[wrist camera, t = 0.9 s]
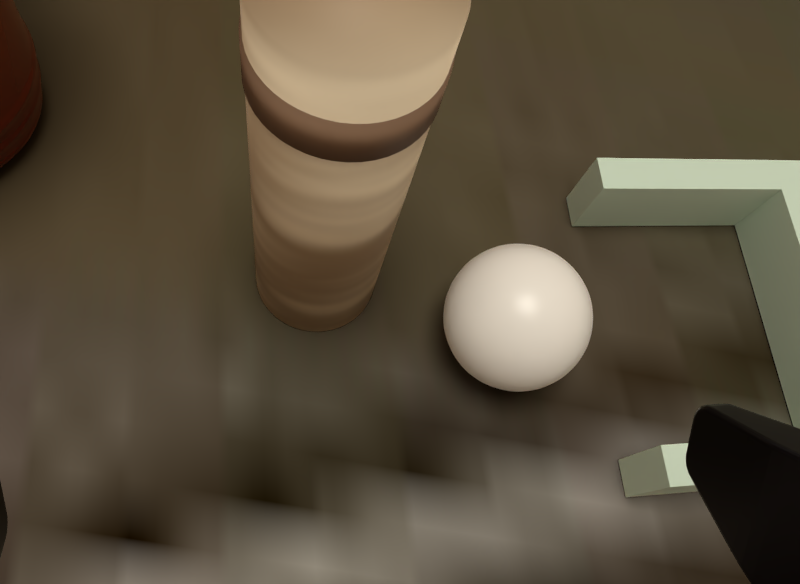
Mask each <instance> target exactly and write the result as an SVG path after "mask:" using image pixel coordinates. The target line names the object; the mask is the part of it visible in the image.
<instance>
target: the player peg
mask: <svg viewBox="0 0 800 584" xmlns="http://www.w3.org/2000/svg"><path fill="white" fill-rule="evenodd" d="M470 5H471V0H240V11H241V14H240V20H239V41H240V57H241V73H242V84H243V88H244V93H245V98H246V115H247V133H248V150H249V167H250V184H251V202H252V219H253V236H254V254H255V271H256V284H257V289H258V292H259V295H260V297H261V299H262V301H263V303H264V304H265V306H266V307H267V309H268V310H269V311H270V312H271V313H272V314H273V315H274V316H275V317H276V318H278V319H279V320H280V321H282V322H283V323H285V324H287V325H289V326H291V327H294V328H297V329H300V330H305V331H313V332H321V331H329V330H333V329H336V328H339V327H342V326H344V325H346V324H348V323H349V322H351V321H352V320H354V319H355V318H356V317H357V316H358V315H359V314H360V313H361V312H362V311H363V310H364V309H365V307H366V306H367V304H368V302H369V300H370V298H371V296H372V293H373V290H374V287H375V284H376V281H377V278H378V275H379V272H380V269H381V267H382V264H383V261H384V258H385V255H386V252H387V249H388V246H389V243H390V241H391V238H392V235H393V232H394V229H395V226H396V223H397V220H398V217H399V215H400V212H401V209H402V206H403V203H404V200H405V197H406V194H407V191H408V189H409V186H410V183H411V180H412V177H413V174H414V171H415V168H416V165H417V163H418V160H419V157H420V154H421V151H422V148H423V145H424V142H425V139H426V137H427V134H428V131H429V128H430V125H431V124H432V122H433V120H434V118H435V116H436V114H437V112H438V109H439V106H440V104H441V101H442V98H443V95H444V92H445V89H446V87H447V84H448V81H449V78H450V75H451V72H452V69H453V65H454V59H455V53H456V50H457V47H458V44H459V41H460V38H461V35H462V32H463V30H464V27H465V24H466V21H467V18H468V14H469V11H470Z"/></svg>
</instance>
